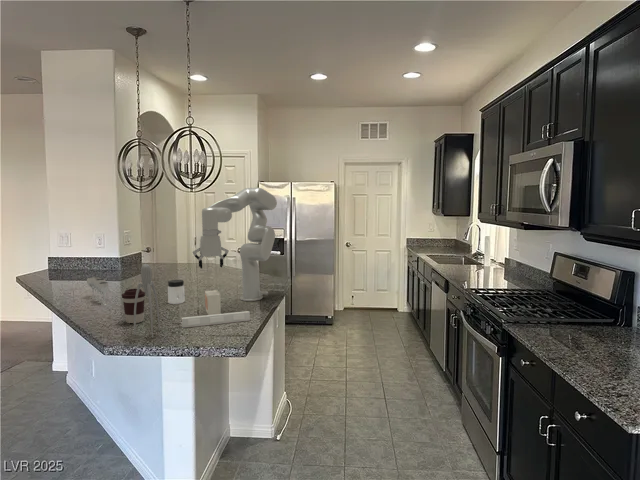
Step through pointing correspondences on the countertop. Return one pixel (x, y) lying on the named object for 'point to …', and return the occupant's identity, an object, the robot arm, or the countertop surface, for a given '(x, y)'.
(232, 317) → the rail
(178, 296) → the jar
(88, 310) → the countertop surface
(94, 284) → the goblet set
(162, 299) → the countertop surface
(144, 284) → the juicer
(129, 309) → the coffee cup
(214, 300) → the box
